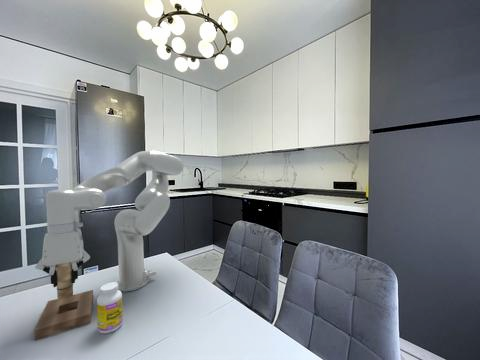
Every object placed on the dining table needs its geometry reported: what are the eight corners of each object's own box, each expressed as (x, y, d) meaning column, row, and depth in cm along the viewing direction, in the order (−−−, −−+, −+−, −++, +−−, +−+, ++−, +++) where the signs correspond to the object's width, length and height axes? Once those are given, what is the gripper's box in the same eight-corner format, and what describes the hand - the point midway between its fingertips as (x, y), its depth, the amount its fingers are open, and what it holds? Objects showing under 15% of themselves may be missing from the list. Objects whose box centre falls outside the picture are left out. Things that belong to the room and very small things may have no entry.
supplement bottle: (105, 338, 62) (102, 294, 61) (93, 329, 66) (91, 288, 65) (127, 323, 68) (125, 283, 67) (116, 316, 71) (114, 278, 71)
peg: (74, 290, 74) (73, 256, 73) (72, 296, 70) (71, 260, 70) (58, 294, 71) (57, 258, 71) (55, 300, 68) (54, 263, 67)
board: (93, 297, 82) (93, 289, 82) (90, 323, 68) (90, 314, 68) (48, 309, 75) (47, 301, 75) (35, 340, 61) (34, 330, 61)
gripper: (94, 222, 77) (96, 272, 78) (31, 229, 69) (33, 285, 69) (93, 227, 71) (95, 281, 72) (23, 234, 62) (26, 296, 63)
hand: (64, 282), depth 71 cm, fingers closed on peg, 4 cm apart
